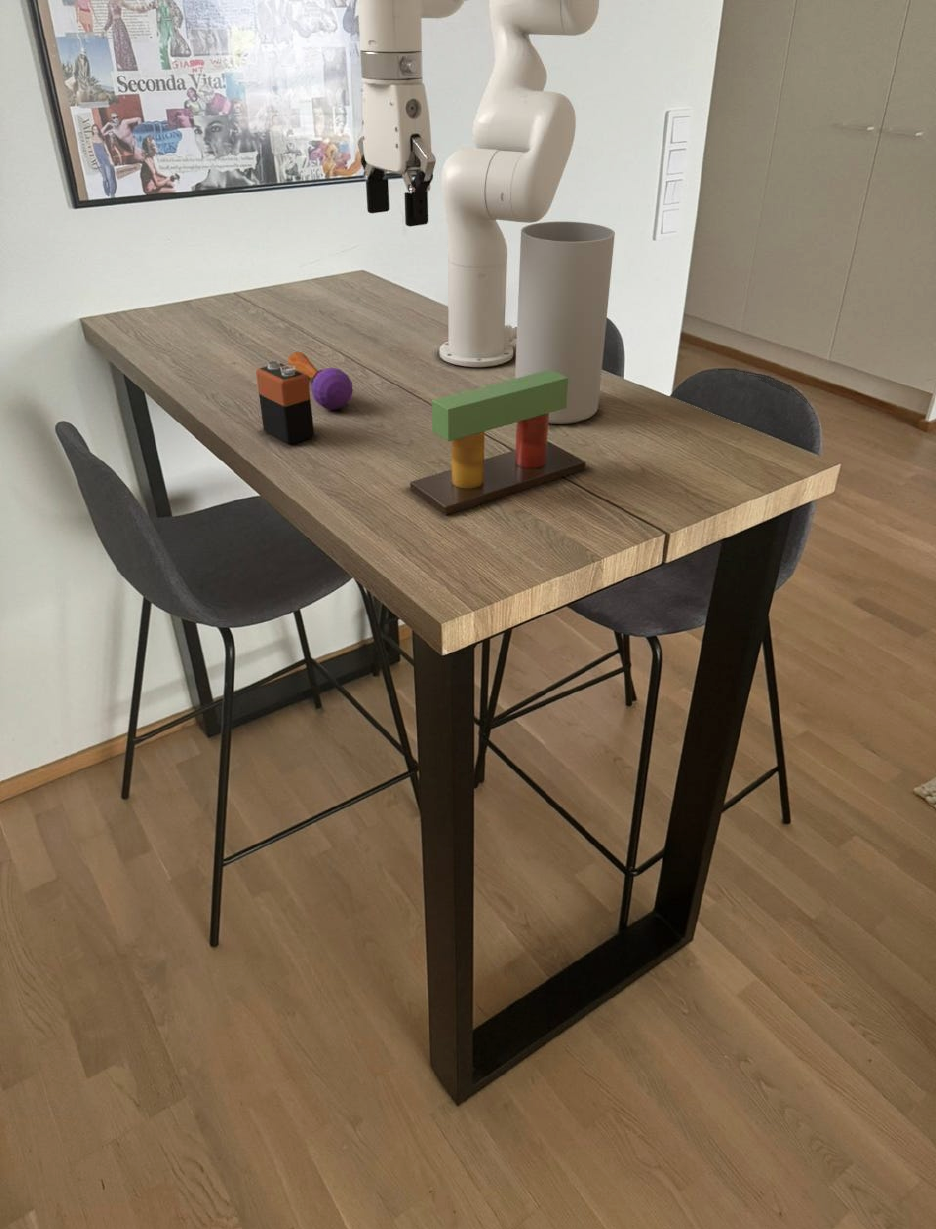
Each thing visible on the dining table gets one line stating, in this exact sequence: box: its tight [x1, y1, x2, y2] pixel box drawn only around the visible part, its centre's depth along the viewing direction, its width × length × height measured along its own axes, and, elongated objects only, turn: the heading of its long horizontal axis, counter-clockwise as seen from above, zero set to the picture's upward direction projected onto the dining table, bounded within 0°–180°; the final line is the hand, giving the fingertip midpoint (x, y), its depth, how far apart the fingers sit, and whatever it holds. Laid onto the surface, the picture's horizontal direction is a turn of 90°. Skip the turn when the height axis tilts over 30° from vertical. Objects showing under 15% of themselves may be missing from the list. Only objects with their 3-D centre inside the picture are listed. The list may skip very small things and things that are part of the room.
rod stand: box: [409, 413, 586, 516], centre depth 112 cm, size 22×8×8 cm, turn 125°
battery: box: [255, 360, 315, 445], centre depth 123 cm, size 4×7×10 cm, turn 43°
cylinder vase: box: [514, 221, 616, 425], centre depth 127 cm, size 12×12×25 cm
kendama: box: [287, 351, 353, 411], centre depth 137 cm, size 6×6×20 cm
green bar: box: [431, 370, 568, 442], centre depth 109 cm, size 18×4×4 cm, turn 125°
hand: (397, 218), depth 119 cm, fingers open, 9 cm apart
